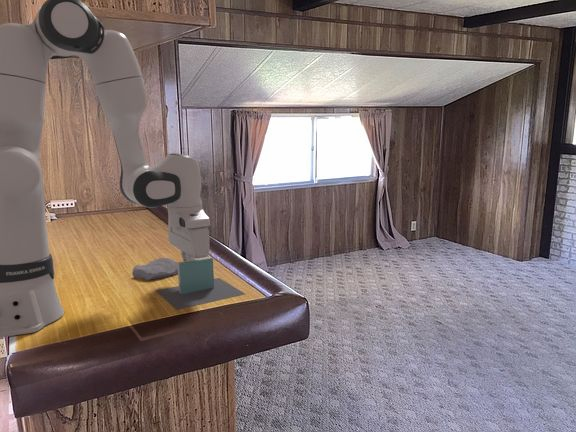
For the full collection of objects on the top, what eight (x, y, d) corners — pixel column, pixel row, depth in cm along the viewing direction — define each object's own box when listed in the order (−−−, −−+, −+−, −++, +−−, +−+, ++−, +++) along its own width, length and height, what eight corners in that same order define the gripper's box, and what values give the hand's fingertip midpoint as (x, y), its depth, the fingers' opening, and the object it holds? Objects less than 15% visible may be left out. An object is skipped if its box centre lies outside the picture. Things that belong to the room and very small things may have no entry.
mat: (177, 312, 110) (177, 309, 109) (155, 292, 123) (155, 290, 123) (246, 296, 119) (245, 293, 119) (219, 279, 132) (218, 277, 132)
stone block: (185, 279, 139) (164, 267, 145) (186, 264, 138) (164, 253, 144) (151, 292, 130) (130, 278, 136) (151, 276, 129) (130, 263, 135)
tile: (181, 294, 119) (179, 264, 118) (179, 292, 121) (177, 262, 119) (214, 287, 124) (212, 258, 123) (211, 285, 126) (210, 256, 124)
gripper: (160, 211, 130) (164, 260, 133) (188, 223, 113) (192, 278, 116) (182, 209, 133) (185, 256, 136) (213, 220, 117) (215, 274, 119)
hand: (188, 267), depth 126 cm, fingers closed
